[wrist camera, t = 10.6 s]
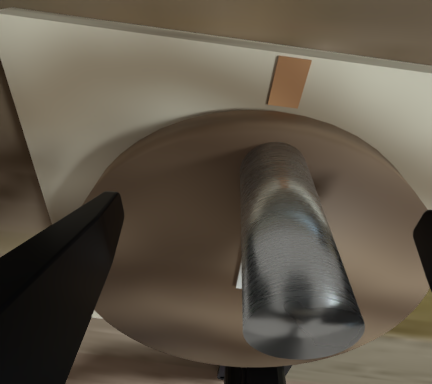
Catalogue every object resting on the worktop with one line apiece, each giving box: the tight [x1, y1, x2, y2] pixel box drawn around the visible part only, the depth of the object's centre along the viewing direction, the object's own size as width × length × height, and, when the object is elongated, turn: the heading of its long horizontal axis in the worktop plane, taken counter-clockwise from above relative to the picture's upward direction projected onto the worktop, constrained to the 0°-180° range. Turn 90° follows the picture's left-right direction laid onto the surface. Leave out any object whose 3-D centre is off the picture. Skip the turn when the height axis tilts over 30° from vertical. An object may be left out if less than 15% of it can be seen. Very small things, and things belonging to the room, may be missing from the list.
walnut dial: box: [82, 110, 430, 367], centre depth 14 cm, size 18×18×8 cm
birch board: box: [0, 7, 432, 319], centre depth 17 cm, size 20×21×2 cm
